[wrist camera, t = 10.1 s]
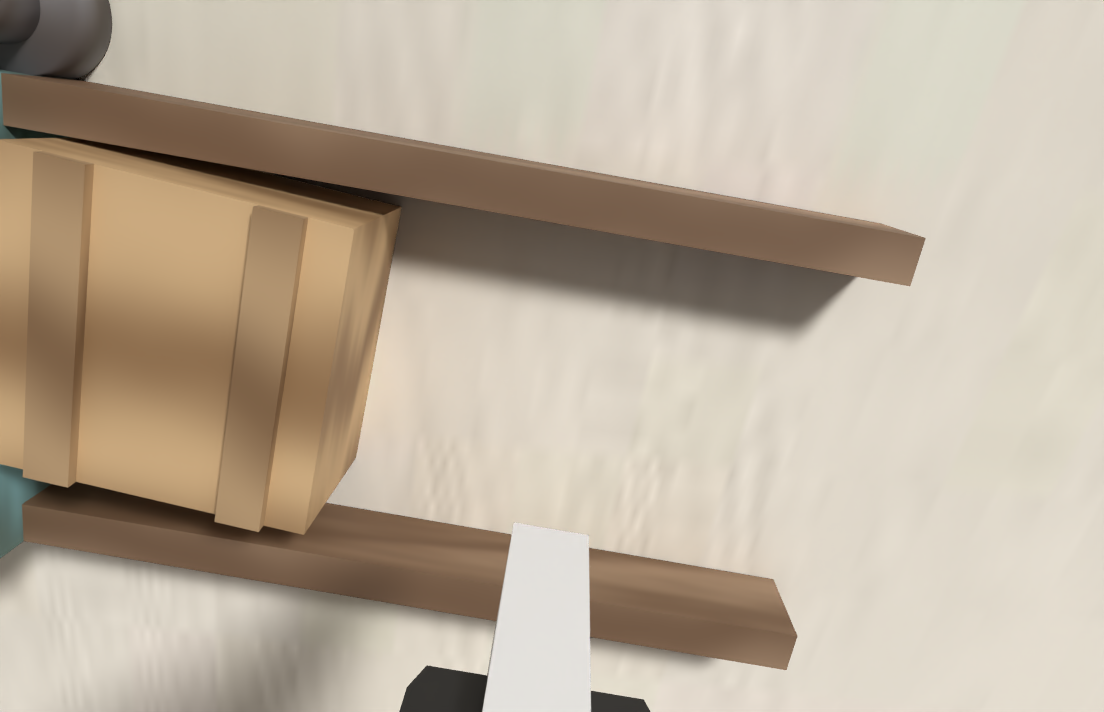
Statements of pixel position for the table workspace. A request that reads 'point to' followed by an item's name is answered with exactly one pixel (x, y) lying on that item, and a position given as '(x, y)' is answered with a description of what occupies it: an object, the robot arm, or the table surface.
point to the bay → (440, 176)
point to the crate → (185, 328)
